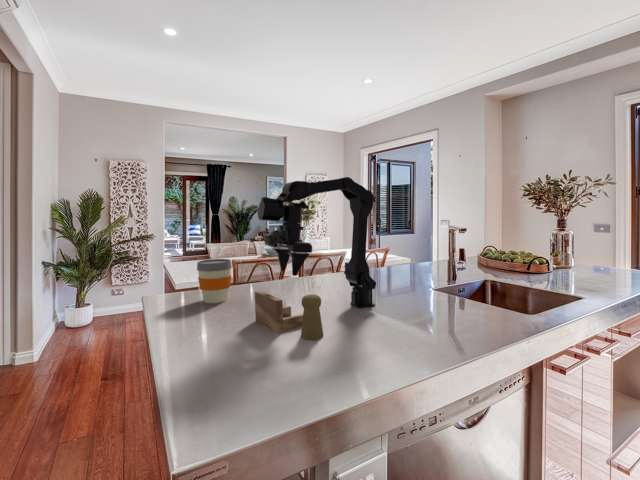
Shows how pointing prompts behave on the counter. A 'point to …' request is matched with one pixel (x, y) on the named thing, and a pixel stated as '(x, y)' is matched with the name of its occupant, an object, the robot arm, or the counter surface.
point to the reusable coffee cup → (214, 279)
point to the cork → (311, 318)
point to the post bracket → (274, 313)
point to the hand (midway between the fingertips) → (288, 273)
